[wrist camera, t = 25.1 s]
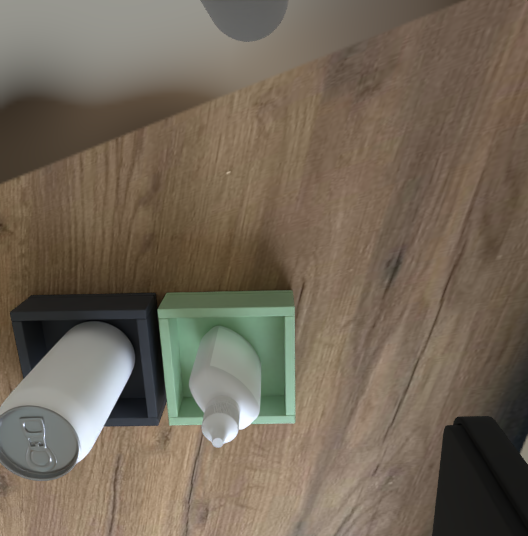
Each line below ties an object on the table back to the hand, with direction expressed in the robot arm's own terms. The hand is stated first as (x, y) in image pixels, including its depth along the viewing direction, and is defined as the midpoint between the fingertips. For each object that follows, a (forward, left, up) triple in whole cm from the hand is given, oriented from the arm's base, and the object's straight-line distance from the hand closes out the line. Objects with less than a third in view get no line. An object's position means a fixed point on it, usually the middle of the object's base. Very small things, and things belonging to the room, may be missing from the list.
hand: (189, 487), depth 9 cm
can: (+13, -13, -30) cm, 35 cm away
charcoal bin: (+13, -13, -30) cm, 36 cm away
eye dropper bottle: (+13, -2, -30) cm, 33 cm away
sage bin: (+13, -2, -30) cm, 33 cm away
